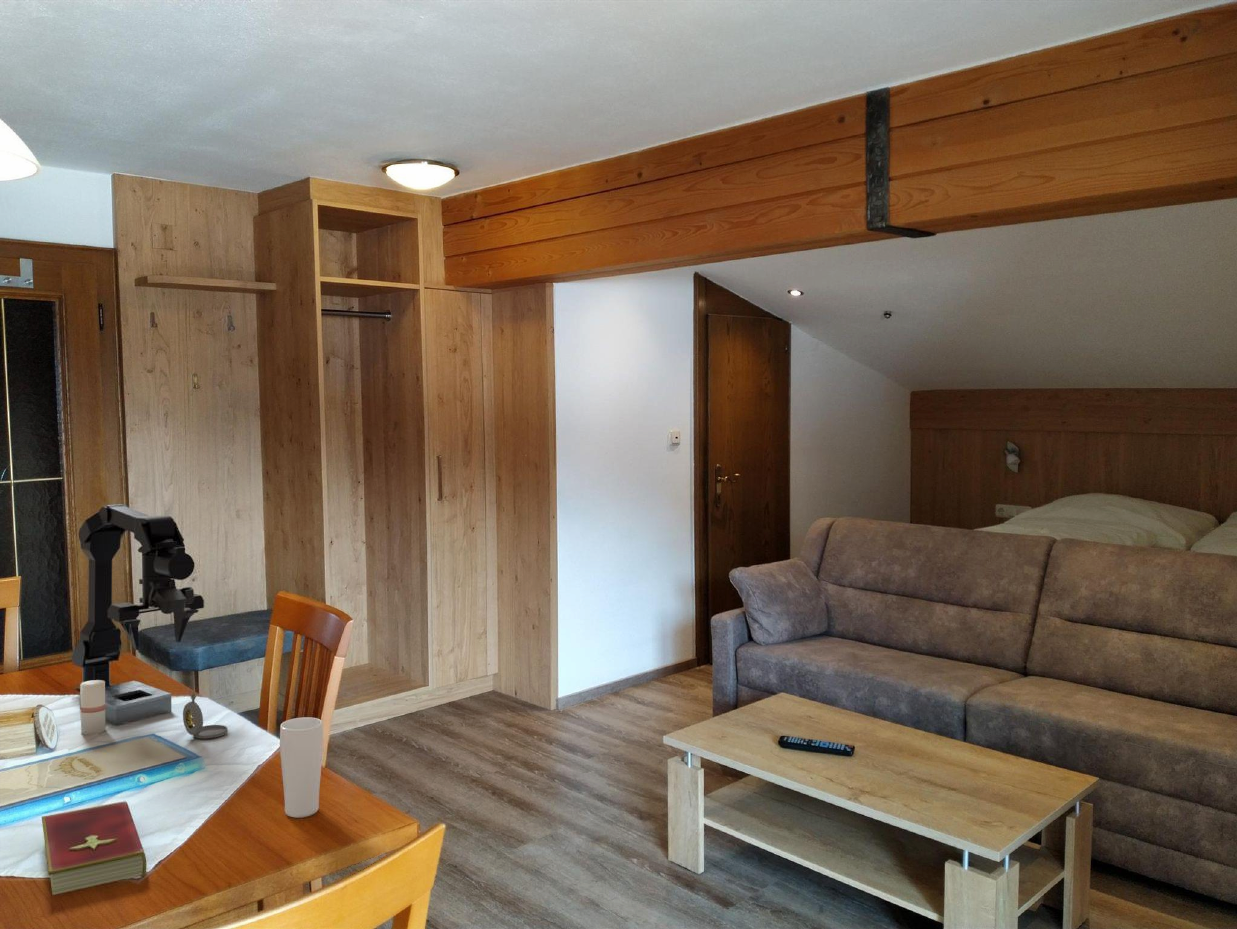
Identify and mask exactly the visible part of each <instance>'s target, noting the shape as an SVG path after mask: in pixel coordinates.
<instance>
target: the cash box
mask: <svg viewBox="0 0 1237 929" xmlns="http://www.w3.org/2000/svg"><path fill="white" fill-rule="evenodd" d="M133 698H134V699H133ZM128 699H131V700H128ZM105 704H106V708H105V722H107V723H109V724H111V725H114V726H121V725H123V724H127V723H128V724H129V723H131V722H136V721H140V720H144V719H147V718H151V717H156V716H159V715H163V714H168V713H171V712H172V693H171V692H167V691H165V690H162V689H159V688H156V687H154V686H150V685H148V684H146V683H143V682H140V681H136V680H131V681H126V682H121V683H117V684H115V685H111V686H107V687H105ZM80 706H81V691H80V692H79V711H80V710H81V708H80Z"/></svg>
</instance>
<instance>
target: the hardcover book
mask: <svg viewBox="0 0 1237 929" xmlns="http://www.w3.org/2000/svg"><path fill="white" fill-rule="evenodd" d="M41 823H42V831H43V832H42V833H43V839H44V848H45V853H46V854H45V855H46V863H47V869H48V870H47V872H48V876H49V879H50V885H51V886H50V887H51V893H52V894H51V895H52V896H55V895H60V894H64V893H68V892H72V891H77V890H83V889H86V888H91V887H96V886H100V885H103V884H108V883H112V882H116V881H121V880H126V879H130V878H134V877H135V878H136V877H140V876H141V877H144V876H146V872H147V857H146V853H145V850H144V847H143V845H142V841H141V840H140V836H139V834H138V830H137V827H136V824H135V821H134V819H133V815H132V813H131V810H130V806H129V804H128V802H127V801H126V800H123V801H118V802H113V803H112V802H111V803H106V804H102V805H97V806H91V807H86V808H82V809H77V810H76V809H75V810H70V811H64V812H59V813H53V814H48V815H43V816H41Z"/></svg>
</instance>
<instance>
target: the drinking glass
mask: <svg viewBox="0 0 1237 929" xmlns="http://www.w3.org/2000/svg"><path fill="white" fill-rule="evenodd" d="M323 723H324V722H323V721H322V720H321V719H319V718H317V717H310V716H309V717H305V716H304V717H302V716H301V717H296V718H291V719H287V720H285V721H283V722H282V723H281V724H280V727H279V728H280V730H279V754H280V764H281V774H282V786H283V795H284V796H283V797H284V812H285V814H286V815H287V816H288V817H290V818H294V819H295V818H296V819H297V818H298V819H299V818H307V817H310V816H312V815H314V814H316V813H317V812H318V811H319V806H320V787H321V786H320V784H321V773H322V765H323V764H322V762H323V754H324V753H323V752H324V727H323V726H324V724H323Z"/></svg>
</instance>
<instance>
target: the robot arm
mask: <svg viewBox="0 0 1237 929" xmlns="http://www.w3.org/2000/svg"><path fill="white" fill-rule="evenodd" d="M127 531H128V532H130V533H133V535H134V536H133V538H134V540H136V541H137V542H138V543H139V544H140V545H141V546H140V547H138V549H137V552H138V553H140V554H141V577H142V578H138V581H139V582H138V584H139V585H141V587H142V589H141V590H142V591H141V592H142V597H139V603H140V604H134V603H130V602H122V603H121V602H120V603H113V600H112V599H113V559H114V557H115V556H116V555H117V554H118V551H120V549H121V544H122V543H121V542H122V538H123V537H124V535H125V534H126V533H127ZM78 540H79V542H80V549H81V550H82V552H83V553H84V555H85V556H86V557H87V559H88V591H87V592H88V595H87V596H88V599H87V600H88V602H87V603H88V609H87V611H88V613H87V614H88V617H87V618H88V619H87V621H86V623H85V625H84V626H83V628H82V630H81V631H80V633H79V642H78V643H77V645H76V647H75V649H74V650H73V652H72V654H71V662H72V665H74V666H77V667H80V668H81V669H82V670H81V671H82V672H81V674H82V676H81V677H82V681H81V683H83V682H86V681H92V680H103V681H105V687H107V686H111V685H116V684H114V683H112V682H111V669H110V668H111V662H115V661H117V662H118V661H119V660H120V655H121V650H122V644H123V643H122V639H121V633H122V631H121V629H120V628H119V627H117V625H116V624H115V623H116V622H117V623H119V624H120V626H121V627H122V628H123V630H124V631H125V632H124V633H125V634H126V635H127V637H128V639H129V641H130V643H131V645H132V647H133V649H134V650H135V651H139V649H140V636H139V635H140V634H139V633H140V632H139V625H140V623H141V620H140V619H138V617H139V616H140V614H146V613H151V612H159V611H161V613H162V614H164V615H171V614H172V613H173V625H174V626H173V628H174V638H175V642H176V643H180V642H181V641H182V639H183V636H184V633H185V629H186V627H187V625H188V623H189V620H190V618H191V617H193V616H194V615H195V614H197V613H199V610H200V609H204V608H205V599H204V597H203V596H202V595H201V594H197V593H194V590H195V589H194V588H193V587H192V586H186V587H182V588H177V586H176V580H178V581H183V580H185V579H187V578H189V577H190V576H192V574H193V572H194V570H195V561H194V559H193V557H192V556H191V555H190V554H189V553H186V548H185V547H186V546H185V543H184V541H185V539H184V537H183V535H182V532H180V530H179V528H178V525H177V522H176V521H175V519H174V518H173V517H172V516H171V515H148V514H146V513H143V512H141V511H138V510H136V509H133V508H130V507H128V505H126V504H124V503H123V504H121V503H120V504H119V503H118V504H107V505H106V504H105V505H104V506H102V507H100V509H99V510H98V512H96V513H95V514H93V515H92V516H90V517H87V519H85V520H84V522H83V523H82V525H81V527H80V528H79V530H78ZM114 622H115V623H114ZM75 689H76V690H79V691H80V685H77V686H76V688H75Z"/></svg>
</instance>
